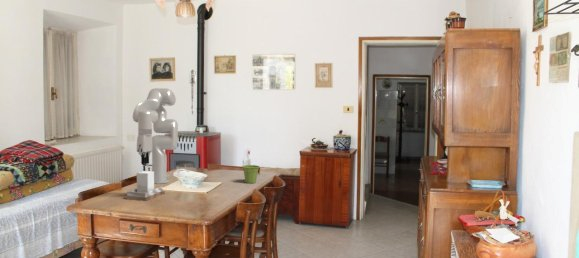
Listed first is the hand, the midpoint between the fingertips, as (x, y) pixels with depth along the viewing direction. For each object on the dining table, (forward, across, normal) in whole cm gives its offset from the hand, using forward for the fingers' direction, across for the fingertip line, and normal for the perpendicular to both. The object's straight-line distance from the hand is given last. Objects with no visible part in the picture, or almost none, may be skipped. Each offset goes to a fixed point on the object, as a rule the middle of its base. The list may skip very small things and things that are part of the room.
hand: (145, 163), depth 273 cm
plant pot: (+19, -60, +44) cm, 77 cm away
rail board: (+19, 0, 0) cm, 19 cm away
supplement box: (+18, 0, 0) cm, 18 cm away
